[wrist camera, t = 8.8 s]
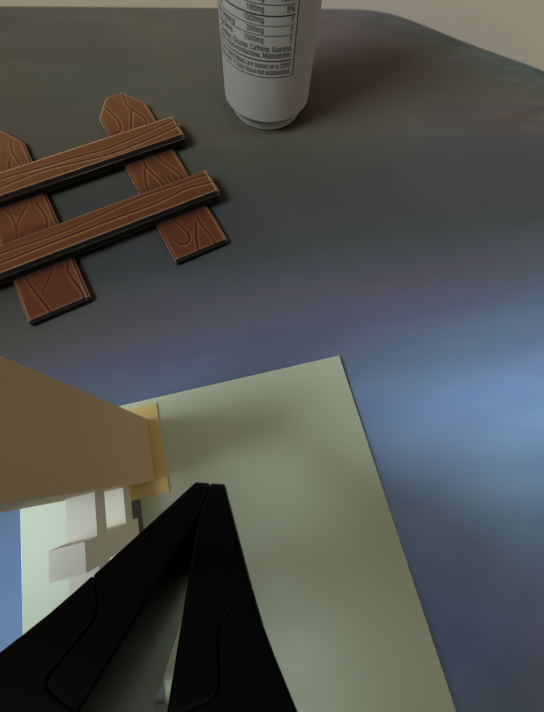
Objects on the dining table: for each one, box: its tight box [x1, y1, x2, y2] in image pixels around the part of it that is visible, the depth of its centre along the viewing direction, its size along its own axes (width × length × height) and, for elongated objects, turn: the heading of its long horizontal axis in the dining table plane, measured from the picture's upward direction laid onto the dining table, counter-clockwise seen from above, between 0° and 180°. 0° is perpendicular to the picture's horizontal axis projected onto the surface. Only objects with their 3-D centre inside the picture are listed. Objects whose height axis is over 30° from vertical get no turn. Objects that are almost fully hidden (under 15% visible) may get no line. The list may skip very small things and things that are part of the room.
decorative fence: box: [0, 93, 228, 326], centre depth 21 cm, size 23×2×15 cm
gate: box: [0, 356, 155, 596], centre depth 9 cm, size 11×3×12 cm, turn 13°
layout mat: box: [20, 356, 456, 712], centre depth 14 cm, size 25×17×1 cm
